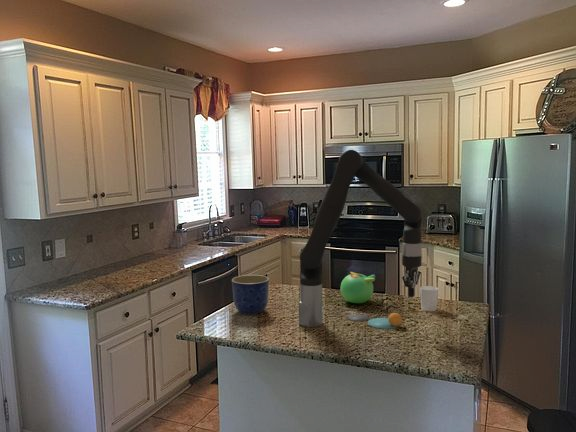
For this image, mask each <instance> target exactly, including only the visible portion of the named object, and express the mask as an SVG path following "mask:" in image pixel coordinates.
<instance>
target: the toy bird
mask: <svg viewBox="0 0 576 432" xmlns="http://www.w3.org/2000/svg"><path fill="white" fill-rule="evenodd" d="M349 272H350V274H348V275H346V276H345V277H344V278H343V279H342V281H341V283H340V293H341V294H340V295H341V296H342V297H343V298H344V300H345V301H347V302H349V303H352V304H363V303H366V302H367V301H369V300H370V299H371V297H372V296H373V293H374V284H373V282H374V281H376V275H375V274H371V275H368V276H367V275H364V274H362V273H356V272H353V271H349Z"/></svg>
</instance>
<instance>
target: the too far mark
mask: <svg viewBox="0 0 576 432" xmlns="http://www.w3.org/2000/svg"><path fill="white" fill-rule="evenodd" d="M347 319H348V320H349V321H352V322H360V323H362V322H366V321H367V322H368V321H369V320H370V317H369V316H367V315H364V314H351V315H348V316H347Z"/></svg>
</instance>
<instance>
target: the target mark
mask: <svg viewBox="0 0 576 432" xmlns="http://www.w3.org/2000/svg"><path fill="white" fill-rule="evenodd" d="M367 324H368V325H369V326H370V327H372V328H376V329H381V330H390V329H391V330H392V329H395V328H398V327H399V326H392V325H391V324H390V323H389V321H388V317H386V318H385V317H376V318H371V319H368V320H367Z"/></svg>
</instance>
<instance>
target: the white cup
mask: <svg viewBox="0 0 576 432" xmlns="http://www.w3.org/2000/svg"><path fill="white" fill-rule="evenodd" d="M419 289H420V290H419V292H420V293H419V294H420V309H421V310H422V311H424V312H436V311H437V310H438V309H437V308H438V300H439V299H438V297H439V287H437V286H432V285H422V286H420V287H419Z"/></svg>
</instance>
